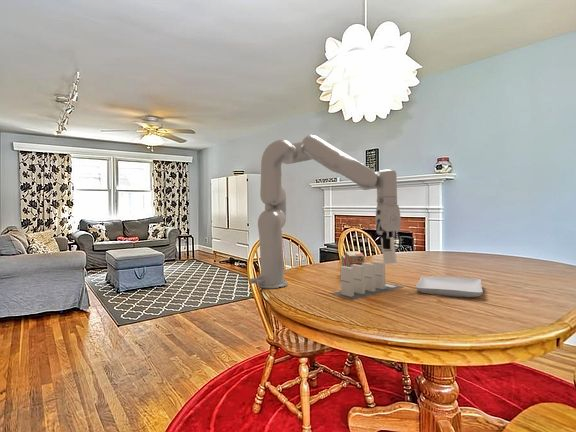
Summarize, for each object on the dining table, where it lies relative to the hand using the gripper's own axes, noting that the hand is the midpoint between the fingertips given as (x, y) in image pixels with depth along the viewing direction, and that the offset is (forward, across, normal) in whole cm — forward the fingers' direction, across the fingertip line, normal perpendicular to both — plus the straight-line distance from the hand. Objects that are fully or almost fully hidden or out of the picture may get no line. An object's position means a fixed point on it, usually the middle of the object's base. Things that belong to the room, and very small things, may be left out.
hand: (388, 248), depth 135 cm
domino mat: (+15, -11, 0) cm, 19 cm away
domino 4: (+15, -6, 0) cm, 16 cm away
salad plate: (+16, +12, -18) cm, 27 cm away
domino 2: (+15, -17, 0) cm, 22 cm away
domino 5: (+6, 0, -1) cm, 6 cm away
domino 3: (+15, -11, 0) cm, 18 cm away
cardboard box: (+15, -1, +19) cm, 25 cm away
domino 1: (+15, -22, 0) cm, 27 cm away
